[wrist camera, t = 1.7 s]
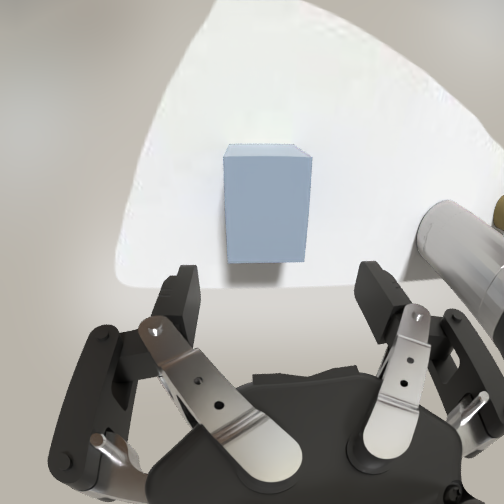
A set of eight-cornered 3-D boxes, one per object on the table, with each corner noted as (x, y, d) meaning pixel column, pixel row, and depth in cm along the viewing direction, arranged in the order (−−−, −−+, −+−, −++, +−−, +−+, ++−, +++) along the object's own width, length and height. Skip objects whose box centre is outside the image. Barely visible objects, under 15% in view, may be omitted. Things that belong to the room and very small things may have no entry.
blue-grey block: (229, 144, 26) (223, 156, 19) (293, 144, 26) (312, 157, 19) (231, 224, 30) (227, 263, 23) (290, 224, 30) (304, 261, 23)
